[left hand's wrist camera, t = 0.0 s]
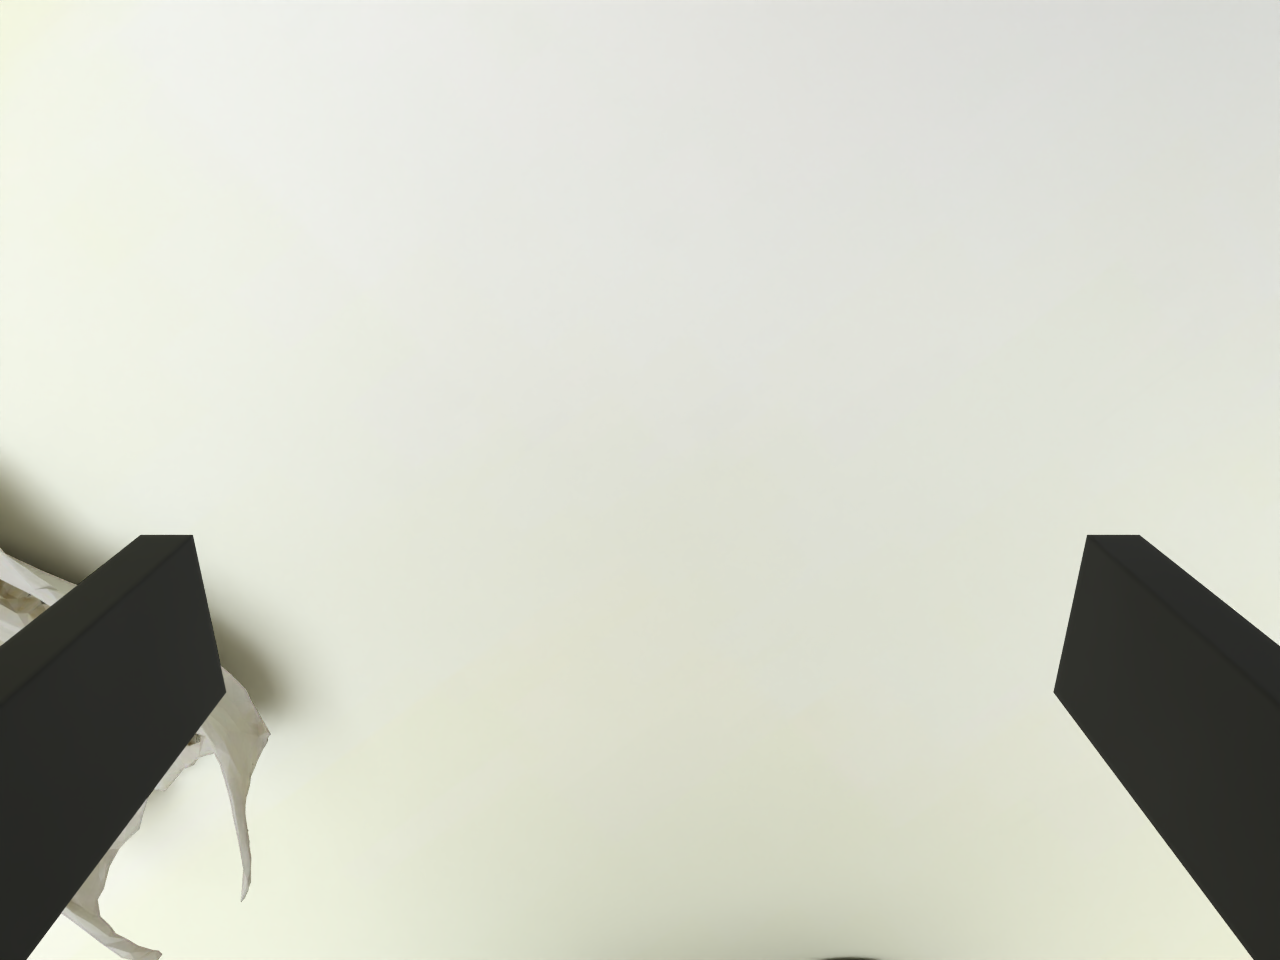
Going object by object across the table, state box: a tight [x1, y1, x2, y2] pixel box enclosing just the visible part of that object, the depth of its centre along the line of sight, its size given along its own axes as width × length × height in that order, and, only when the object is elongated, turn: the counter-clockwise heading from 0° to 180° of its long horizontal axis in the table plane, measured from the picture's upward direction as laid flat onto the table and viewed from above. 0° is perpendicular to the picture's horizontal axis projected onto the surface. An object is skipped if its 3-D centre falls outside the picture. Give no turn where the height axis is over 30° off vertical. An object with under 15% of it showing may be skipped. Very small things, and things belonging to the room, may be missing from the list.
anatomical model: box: [0, 548, 270, 960], centre depth 42 cm, size 15×9×25 cm
